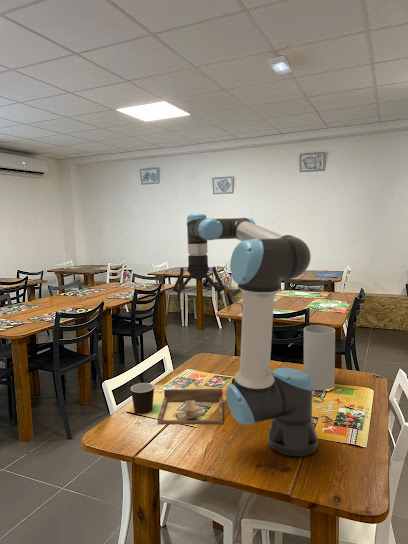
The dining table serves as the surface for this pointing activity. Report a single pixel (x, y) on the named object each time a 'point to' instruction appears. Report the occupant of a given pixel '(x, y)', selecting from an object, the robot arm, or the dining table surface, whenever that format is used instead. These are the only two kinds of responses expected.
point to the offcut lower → (183, 417)
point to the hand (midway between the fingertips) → (199, 308)
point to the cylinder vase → (320, 356)
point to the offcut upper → (190, 409)
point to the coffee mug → (142, 397)
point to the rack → (189, 395)
